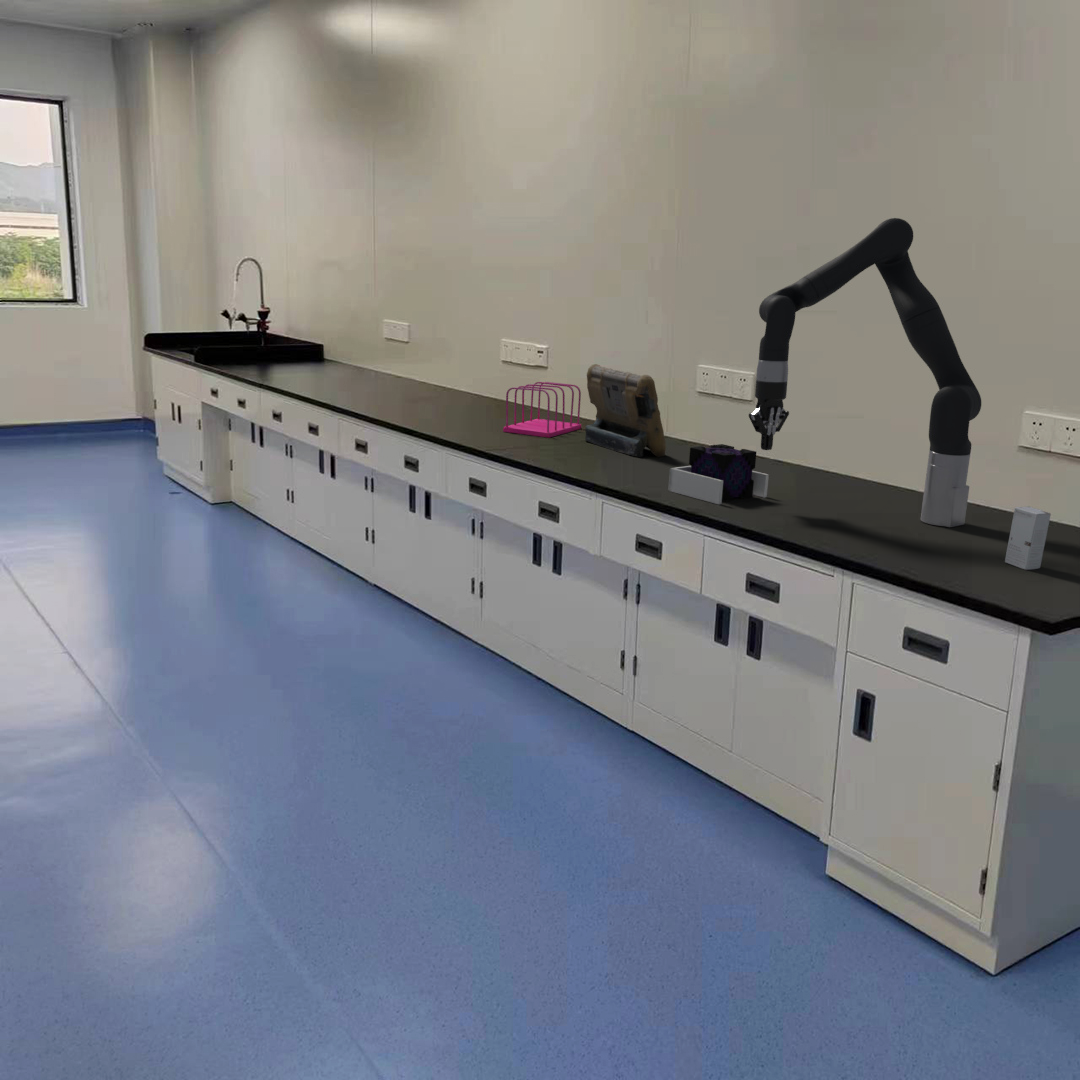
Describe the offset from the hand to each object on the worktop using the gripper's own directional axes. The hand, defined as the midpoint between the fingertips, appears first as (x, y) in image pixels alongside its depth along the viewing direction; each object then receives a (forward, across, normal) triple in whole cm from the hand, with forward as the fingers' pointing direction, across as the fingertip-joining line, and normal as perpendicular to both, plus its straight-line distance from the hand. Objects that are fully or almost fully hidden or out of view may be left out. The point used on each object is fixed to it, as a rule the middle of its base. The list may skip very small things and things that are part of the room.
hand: (766, 449), depth 276 cm
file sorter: (+12, +23, +116) cm, 119 cm away
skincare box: (+16, +7, -65) cm, 68 cm away
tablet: (+13, +25, +78) cm, 82 cm away
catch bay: (+14, +1, +16) cm, 21 cm away
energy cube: (+14, +1, +15) cm, 21 cm away
